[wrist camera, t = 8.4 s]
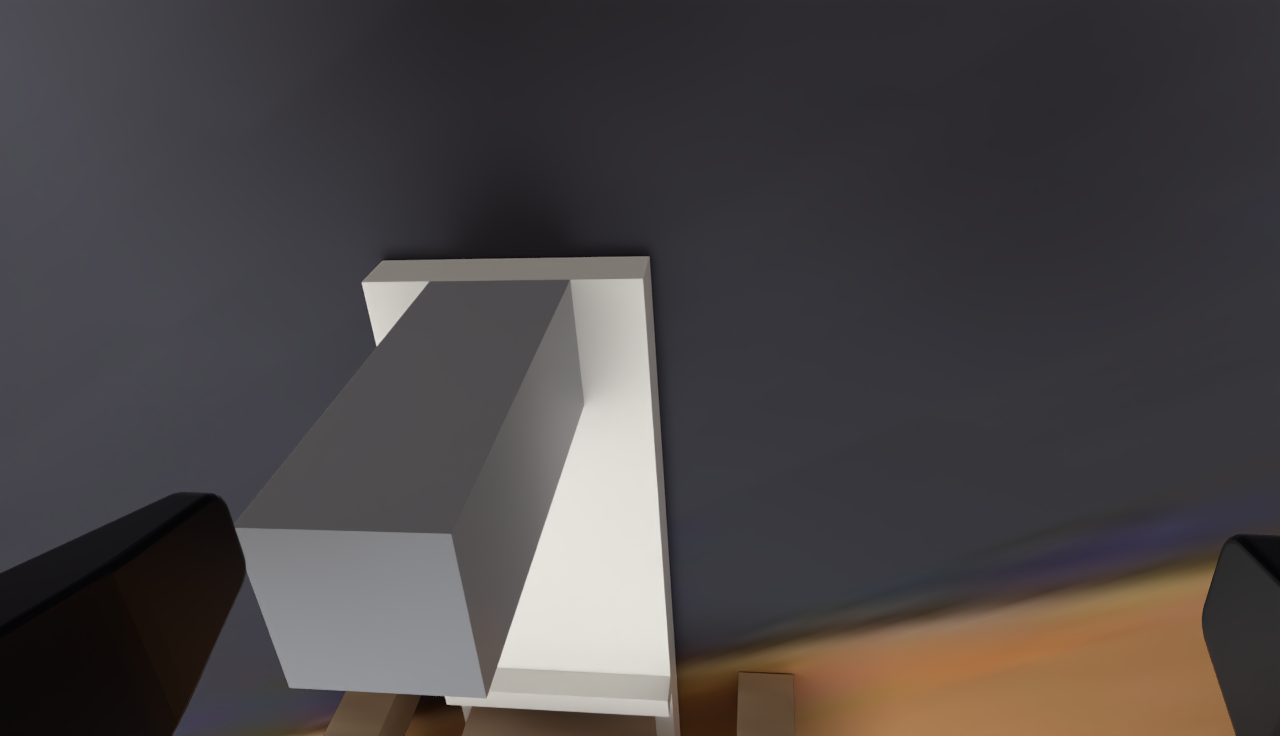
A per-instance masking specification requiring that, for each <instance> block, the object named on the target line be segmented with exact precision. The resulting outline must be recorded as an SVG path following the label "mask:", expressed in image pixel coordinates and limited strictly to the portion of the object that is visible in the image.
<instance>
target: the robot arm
mask: <svg viewBox="0 0 1280 736" xmlns="http://www.w3.org/2000/svg"><path fill="white" fill-rule="evenodd" d="M245 574H246V560H245V556H244V553H243V550H242V547H241V544H240V541H239V538H238V535H237V532H236V529H235V526H234V523H233V521H232V518H231V515H230V512H229V509H228V506H227V504H226V502H225V501H224V500H223V499H222V498H221V497H220V496H218V495H216V494H213V493H196V492H179V493H174V494H172V495H169V496H167V497H165V498H163V499H160V500H158V501H156V502H154V503H152V504H150V505H147V506H145V507H143V508H141V509H139V510H137V511H134V512H132V513H130V514H128V515H126V516H124V517H121V518H119V519H117V520H115V521H113V522H111V523H108V524H106V525H104V526H102V527H100V528H98V529H95V530H93V531H91V532H89V533H87V534H85V535H82V536H80V537H78V538H76V539H74V540H72V541H69V542H67V543H65V544H63V545H61V546H59V547H56V548H54V549H52V550H50V551H48V552H46V553H43V554H41V555H39V556H37V557H35V558H33V559H30V560H28V561H26V562H24V563H22V564H20V565H17V566H15V567H13V568H11V569H9V570H7V571H4V572H2V573H0V736H172V735H173V734H174V732H175V730H176V728H177V726H178V724H179V722H180V720H181V718H182V716H183V714H184V712H185V710H186V708H187V706H188V704H189V702H190V700H191V698H192V696H193V693H194V691H195V689H196V687H197V685H198V682H199V680H200V678H201V676H202V674H203V671H204V669H205V667H206V665H207V663H208V660H209V658H210V656H211V654H212V652H213V650H214V647H215V645H216V643H217V641H218V639H219V636H220V634H221V632H222V630H223V628H224V625H225V623H226V621H227V619H228V617H229V614H230V612H231V610H232V608H233V606H234V603H235V601H236V599H237V597H238V595H239V593H240V590H241V588H242V586H243V583H244V579H245ZM1202 628H1203V635H1204V639H1205V642H1206V646H1207V649H1208V652H1209V655H1210V658H1211V661H1212V664H1213V667H1214V670H1215V673H1216V676H1217V679H1218V682H1219V685H1220V689H1221V692H1222V695H1223V698H1224V701H1225V704H1226V707H1227V710H1228V713H1229V716H1230V719H1231V722H1232V725H1233V728H1234V732H1235V735H1236V736H1280V536H1276V535H1250V534H1237V535H1235V536H1232V537H1230V538H1229V539H1228V540H1227V541H1226V542H1225V544H1224V545H1223V548H1222V550H1221V553H1220V556H1219V559H1218V562H1217V566H1216V569H1215V572H1214V575H1213V578H1212V582H1211V585H1210V588H1209V591H1208V595H1207V598H1206V601H1205V604H1204V608H1203V614H1202Z"/></svg>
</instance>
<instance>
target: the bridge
mask: <svg viewBox="0 0 1280 736" xmlns="http://www.w3.org/2000/svg"><path fill="white" fill-rule="evenodd" d="M420 697H421V695H413V694H395V693H376V692H358V691H346V692H345V694H344V696H343V698H342V700H341V702H340V704H339V706H338V708H337V710H336V712H335V714H334V716H333V718H332V720H331V722H330V724H329V726H328V728H327V730H326V732H325V734H324V736H405V734H406V731H407V729H408V726H409V724H410V722H411V719H412V717H413V714H414V712H415V709H416V707H417V705H418V702H419V700H420ZM737 736H795V710H794V683H793V675H786V674H765V673H744V672H739V678H738V711H737Z"/></svg>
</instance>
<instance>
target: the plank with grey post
mask: <svg viewBox="0 0 1280 736" xmlns="http://www.w3.org/2000/svg"><path fill="white" fill-rule="evenodd" d="M362 286H363V290H364V295H365V299H366V303H367V307H368V312H369V316H370V320H371V324H372V329H373V333H374V337H375V341H376V346H377V347H376V348H375V350H374V351H373V352H372V353H371V355H370V356H369V357H368V358H367V360H366V361H365V362H364V363H363V364H362V366H361V367H360V368H359V369H358V371H357V372H356V373H355V374H354V376H353V377H352V378H351V379H350V381H349V382H348V383H347V384H346V386H345V387H344V388H343V389H342V391H341V392H340V393H339V394H338V395H337V397H336V398H335V399H334V400H333V402H332V403H331V404H330V405H329V407H328V408H327V409H326V410H325V412H324V413H323V414H322V415H321V417H320V418H319V419H318V420H317V421H316V423H315V424H314V425H313V426H312V428H311V429H310V430H309V431H308V433H307V434H306V435H305V436H304V438H303V439H302V440H301V441H300V443H299V444H298V445H297V446H296V448H295V449H294V450H293V451H292V452H291V454H290V455H289V456H288V457H287V459H286V460H285V461H284V462H283V464H282V465H281V466H280V467H279V469H278V470H277V471H276V472H275V474H274V475H273V476H272V477H271V478H270V480H269V481H268V482H267V483H266V485H265V486H264V487H263V488H262V490H261V491H260V492H259V493H258V495H257V496H256V497H255V498H254V500H253V501H252V502H251V503H250V505H249V506H248V507H247V508H246V509H245V511H244V512H243V513H242V514H241V516H240V517H239V518H238V519H237V521H236V522H235V523H234V526H235V529H236V532H237V535H238V538H239V541H240V544H241V547H242V550H243V553H244V556H245V560H246V570H247V573H248V576H249V579H250V581H251V584H252V587H253V590H254V592H255V595H256V598H257V600H258V603H259V606H260V609H261V611H262V614H263V617H264V619H265V622H266V625H267V628H268V630H269V633H270V636H271V639H272V641H273V644H274V647H275V649H276V652H277V655H278V658H279V660H280V663H281V666H282V669H283V671H284V674H285V677H286V679H287V682H288V685H289V688H302V689H321V690H339V691H358V692H376V693H395V694H413V695H432V696H445V699H446V703H447V705H461V706H462V710H463V714H464V718H465V722H467V719H468V716H469V713H470V710H471V708H472V706H479V707H497V708H515V709H533V710H552V711H570V712H588V713H606V714H624V715H642V716H655V721H656V733H657V736H680V721H679V705H678V690H677V674H676V659H675V643H674V628H673V612H672V597H671V581H670V566H669V550H668V535H667V519H666V504H665V488H664V473H663V457H662V442H661V426H660V410H659V395H658V379H657V364H656V348H655V333H654V317H653V302H652V286H651V271H650V256H631V257H569V258H506V259H444V260H383V261H382V262H381V263H380V264H379V265H378V266H377V267H376V268H375V269H374V270H373V271H372V272H371V273H370V274H369V275H368V276H367V277H366V278H365V279H364V280H363V281H362Z"/></svg>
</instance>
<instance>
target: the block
mask: <svg viewBox="0 0 1280 736" xmlns="http://www.w3.org/2000/svg"><path fill="white" fill-rule="evenodd" d="M462 736H657V733H656V721H655V716H642V715H624V714H606V713H588V712H570V711H552V710H533V709H515V708H497V707H479V706H472V708H471V710H470V713H469V716H468V719H467V722H466V725H465V728H464V731H463V733H462Z"/></svg>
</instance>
